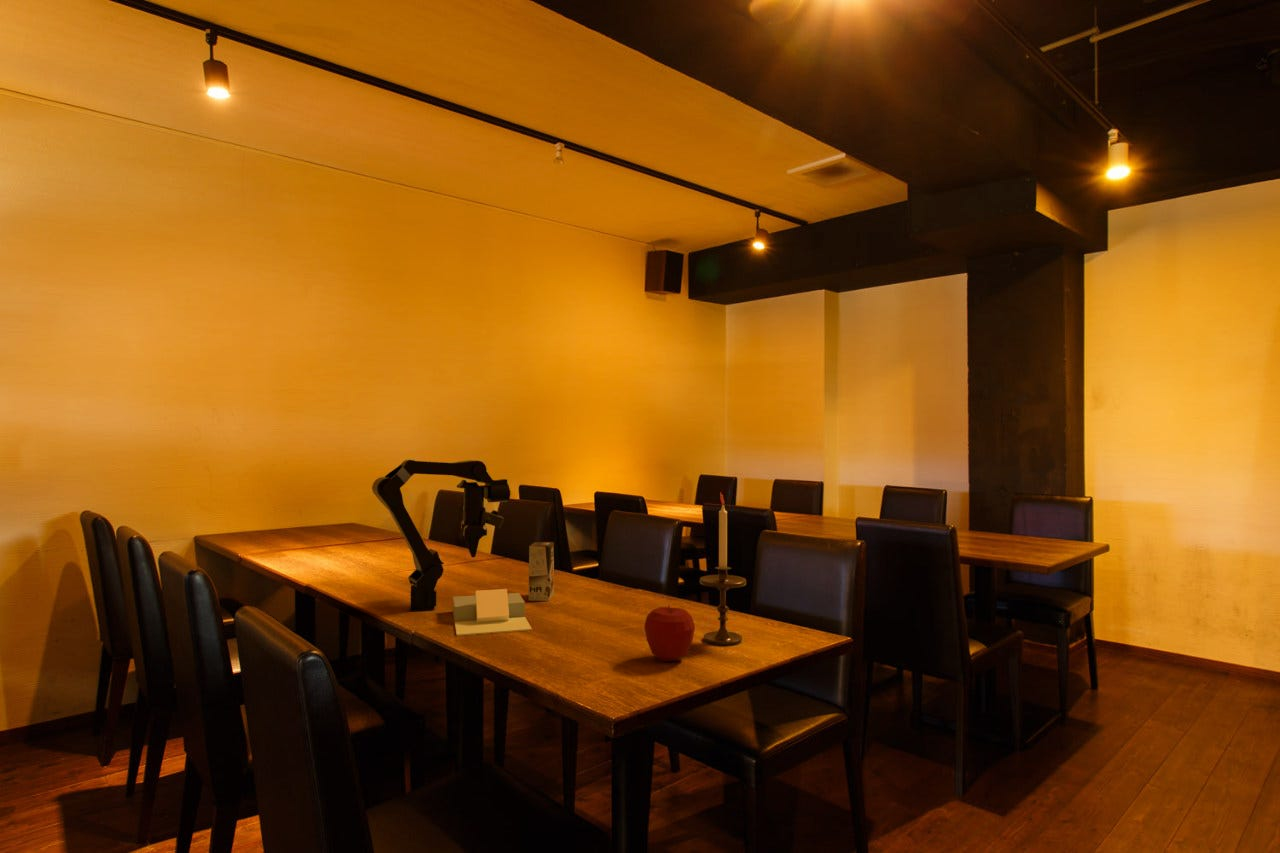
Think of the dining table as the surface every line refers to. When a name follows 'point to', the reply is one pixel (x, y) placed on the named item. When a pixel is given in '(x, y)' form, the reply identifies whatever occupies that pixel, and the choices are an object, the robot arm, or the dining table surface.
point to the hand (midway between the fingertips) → (473, 557)
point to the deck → (467, 607)
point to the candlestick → (722, 587)
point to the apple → (669, 632)
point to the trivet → (492, 605)
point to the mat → (492, 626)
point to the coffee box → (541, 571)
